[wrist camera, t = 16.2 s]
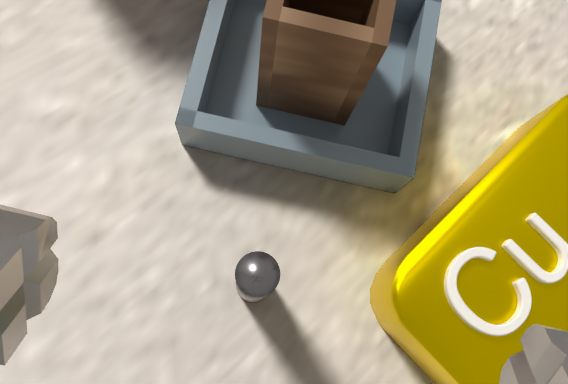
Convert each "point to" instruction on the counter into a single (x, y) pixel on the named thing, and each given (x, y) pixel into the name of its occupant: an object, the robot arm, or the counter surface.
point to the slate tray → (303, 130)
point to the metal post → (256, 276)
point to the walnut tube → (320, 54)
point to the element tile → (485, 261)
